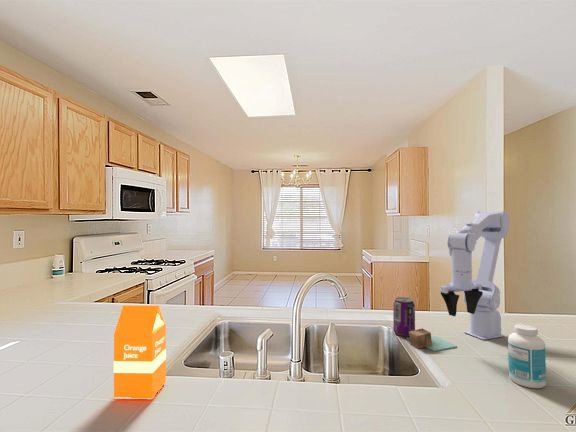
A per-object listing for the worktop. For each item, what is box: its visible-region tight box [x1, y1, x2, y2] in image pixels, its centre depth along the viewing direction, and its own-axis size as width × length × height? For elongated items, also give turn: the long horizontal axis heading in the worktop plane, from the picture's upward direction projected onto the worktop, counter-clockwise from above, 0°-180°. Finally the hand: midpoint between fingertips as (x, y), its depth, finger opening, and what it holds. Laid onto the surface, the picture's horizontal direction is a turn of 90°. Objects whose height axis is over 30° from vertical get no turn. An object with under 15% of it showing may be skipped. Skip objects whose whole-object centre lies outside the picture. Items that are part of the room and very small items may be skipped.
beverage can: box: [392, 296, 416, 337], centre depth 115 cm, size 7×7×12 cm
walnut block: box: [408, 327, 432, 350], centre depth 104 cm, size 4×4×5 cm
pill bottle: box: [507, 323, 547, 389], centre depth 81 cm, size 8×7×14 cm
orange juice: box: [113, 304, 167, 398], centre depth 77 cm, size 8×9×20 cm
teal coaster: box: [425, 336, 458, 352], centre depth 106 cm, size 9×9×1 cm
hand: (461, 314), depth 104 cm, fingers open, 7 cm apart
